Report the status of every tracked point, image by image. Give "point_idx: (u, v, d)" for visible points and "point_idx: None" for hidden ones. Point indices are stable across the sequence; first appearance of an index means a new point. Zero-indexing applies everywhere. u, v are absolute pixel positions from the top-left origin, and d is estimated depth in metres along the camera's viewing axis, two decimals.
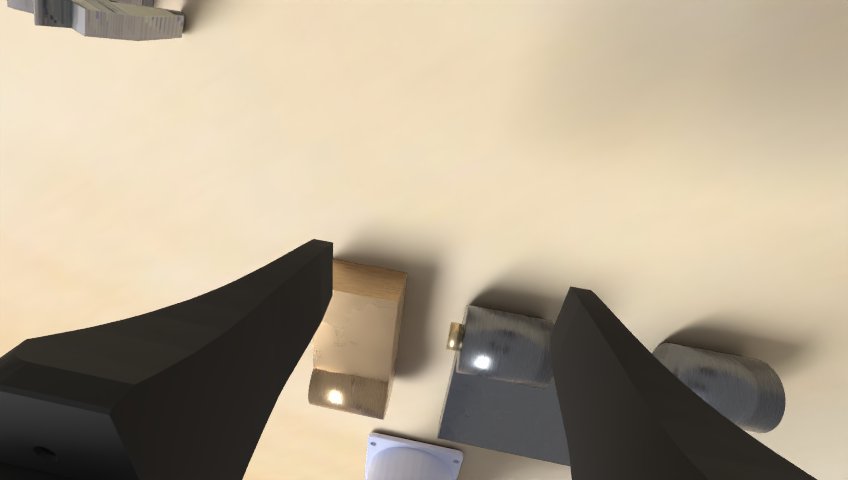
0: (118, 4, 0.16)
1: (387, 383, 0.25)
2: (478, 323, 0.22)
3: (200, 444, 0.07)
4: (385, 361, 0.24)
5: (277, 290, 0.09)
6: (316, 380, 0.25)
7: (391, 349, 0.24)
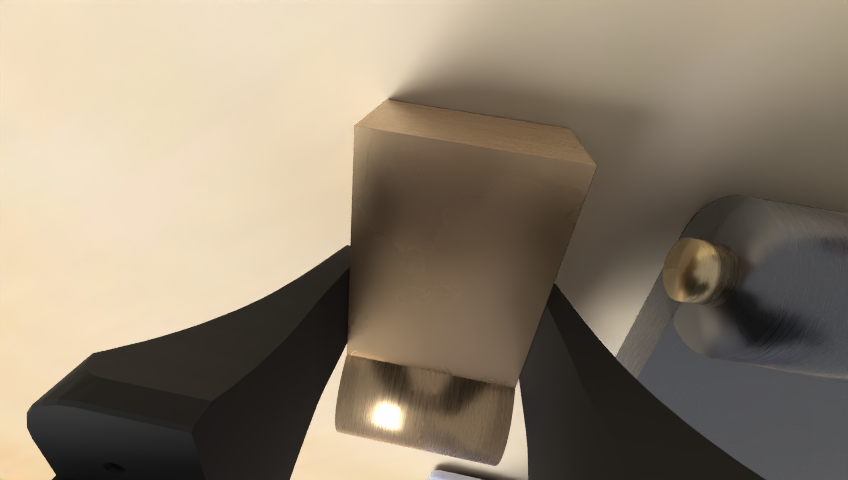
0: None
1: (512, 388, 0.11)
2: (806, 224, 0.08)
3: (257, 457, 0.07)
4: (521, 337, 0.10)
5: (322, 299, 0.09)
6: (354, 381, 0.11)
7: (542, 306, 0.10)
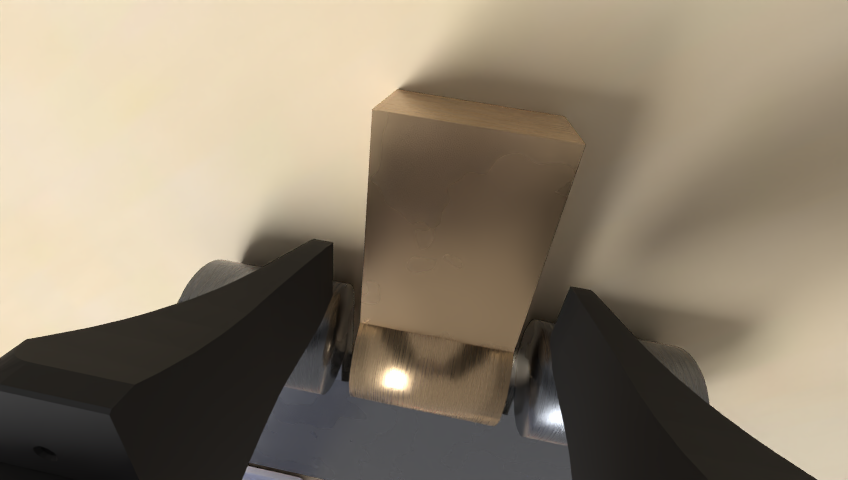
0: None
1: (511, 353, 0.12)
2: (207, 284, 0.13)
3: (200, 444, 0.07)
4: (518, 304, 0.11)
5: (277, 290, 0.09)
6: (366, 346, 0.12)
7: (538, 274, 0.11)
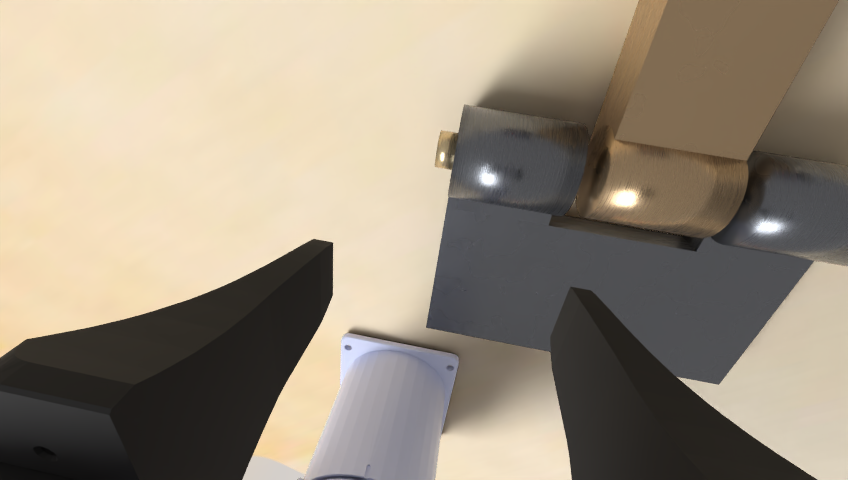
0: None
1: (745, 160, 0.15)
2: (478, 113, 0.16)
3: (200, 444, 0.07)
4: (767, 107, 0.14)
5: (277, 291, 0.09)
6: (624, 156, 0.15)
7: (793, 75, 0.13)
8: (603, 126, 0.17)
